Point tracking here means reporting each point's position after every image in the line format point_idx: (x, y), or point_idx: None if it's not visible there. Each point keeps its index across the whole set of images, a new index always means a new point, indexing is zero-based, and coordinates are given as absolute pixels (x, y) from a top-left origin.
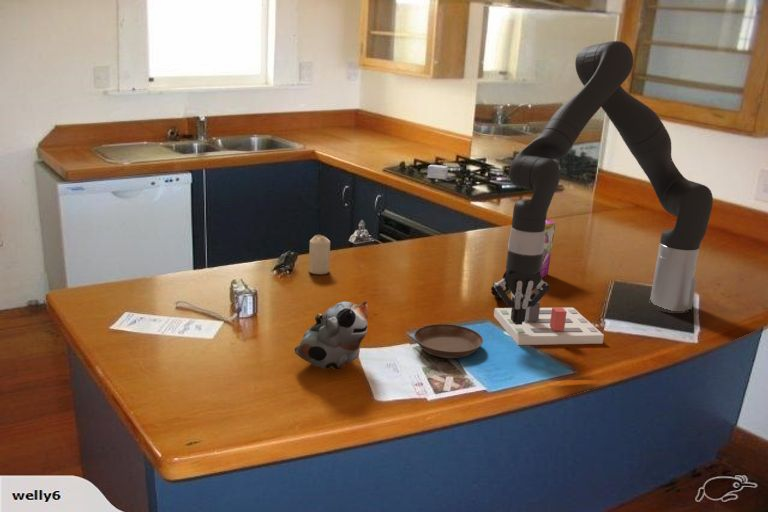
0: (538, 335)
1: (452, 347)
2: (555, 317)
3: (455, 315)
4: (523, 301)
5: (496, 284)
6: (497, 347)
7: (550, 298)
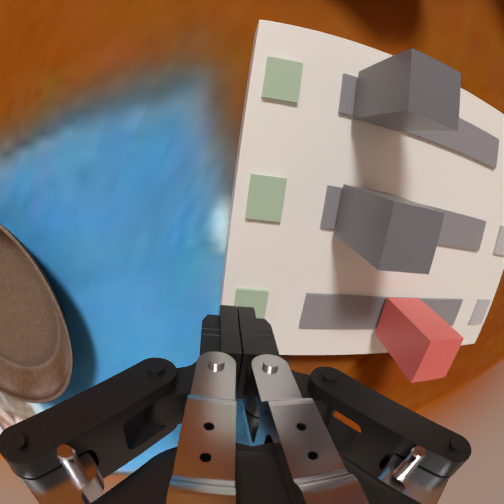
0: (301, 350)
1: (9, 316)
2: (399, 364)
3: (89, 22)
4: (250, 440)
5: (25, 485)
6: (137, 337)
7: (497, 7)
